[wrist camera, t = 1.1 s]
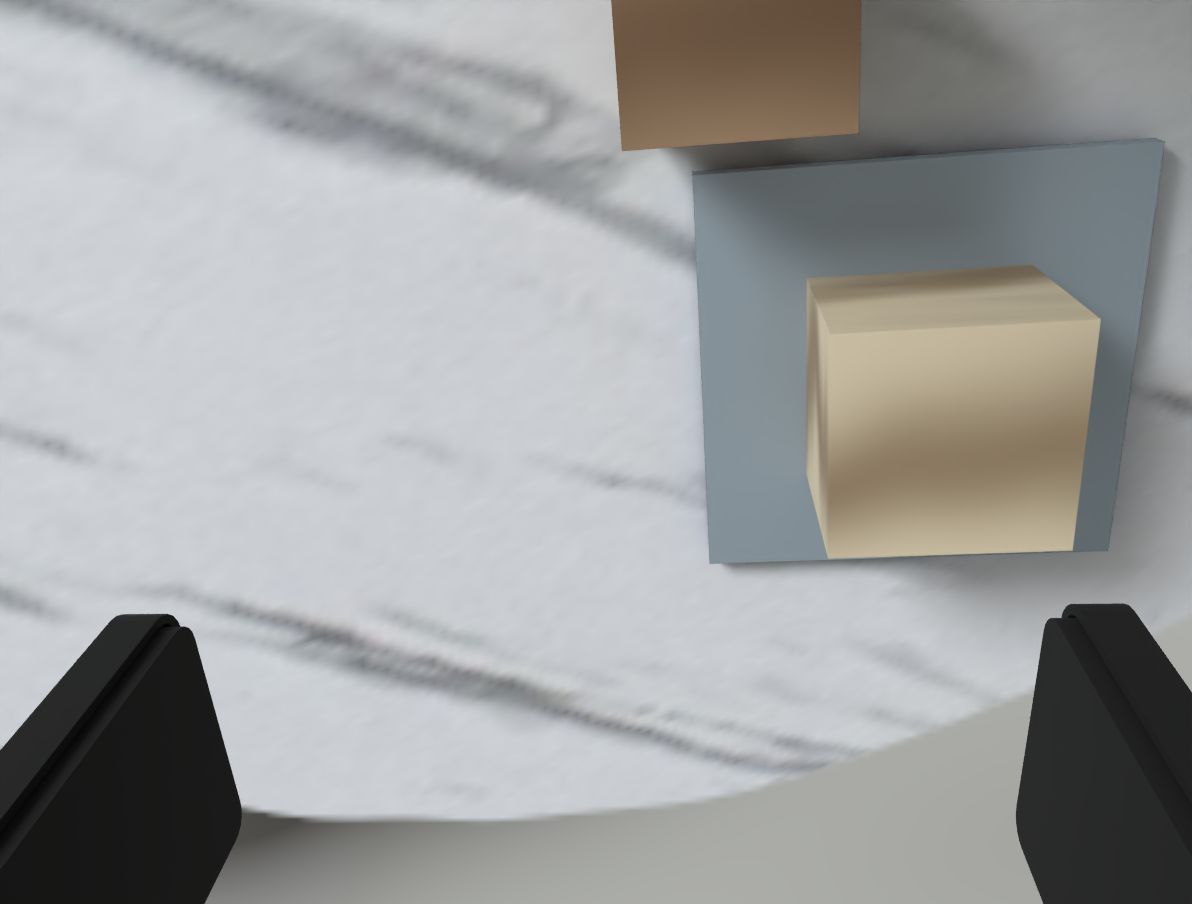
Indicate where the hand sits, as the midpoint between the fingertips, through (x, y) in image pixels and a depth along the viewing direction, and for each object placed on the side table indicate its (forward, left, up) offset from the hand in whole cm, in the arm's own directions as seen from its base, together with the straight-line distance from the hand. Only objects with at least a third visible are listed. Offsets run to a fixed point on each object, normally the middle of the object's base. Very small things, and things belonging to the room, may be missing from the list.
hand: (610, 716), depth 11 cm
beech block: (+3, +7, -19) cm, 21 cm away
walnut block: (-7, +2, -20) cm, 21 cm away
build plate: (+3, +7, -20) cm, 21 cm away
